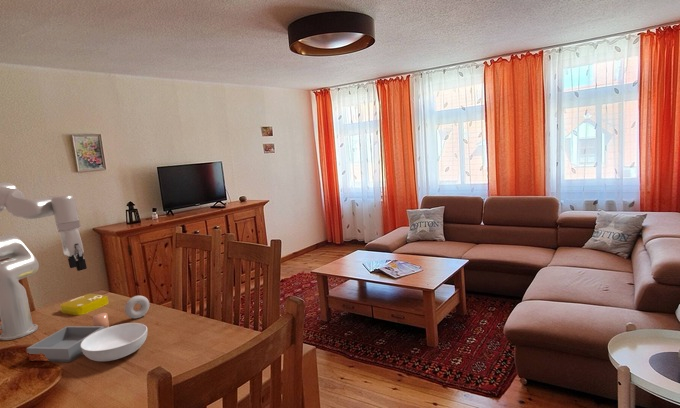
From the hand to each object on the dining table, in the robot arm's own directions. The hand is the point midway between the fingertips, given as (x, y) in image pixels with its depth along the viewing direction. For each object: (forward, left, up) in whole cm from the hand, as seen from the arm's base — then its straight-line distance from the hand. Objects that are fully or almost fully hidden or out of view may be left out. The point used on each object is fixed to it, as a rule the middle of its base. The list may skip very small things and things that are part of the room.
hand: (78, 268), depth 155 cm
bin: (+3, -13, -27) cm, 30 cm away
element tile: (-25, +25, -28) cm, 45 cm away
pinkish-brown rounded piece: (+5, +1, -27) cm, 28 cm away
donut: (+12, +14, -28) cm, 33 cm away
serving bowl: (+25, -15, -28) cm, 40 cm away
